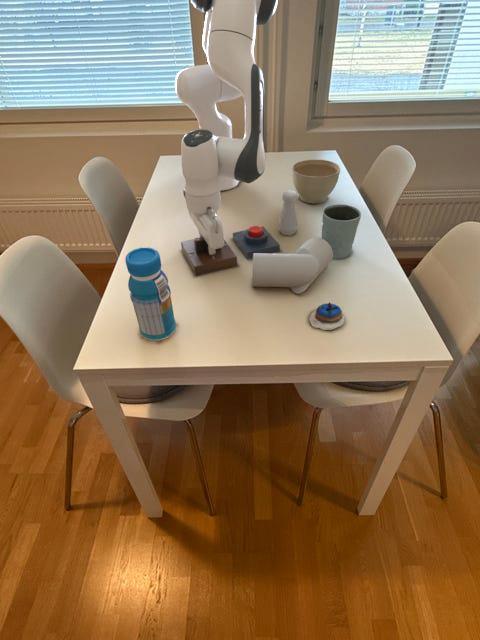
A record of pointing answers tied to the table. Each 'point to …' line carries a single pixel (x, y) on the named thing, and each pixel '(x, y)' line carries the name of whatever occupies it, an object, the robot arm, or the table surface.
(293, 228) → the salt shaker
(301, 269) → the bent grey cylinder
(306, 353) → the table surface
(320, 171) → the planter bowl
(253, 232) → the red button
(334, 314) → the dessert
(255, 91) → the robot arm
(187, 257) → the dial base
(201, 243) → the lever
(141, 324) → the beverage bottle
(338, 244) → the light blue cup
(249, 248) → the button box
